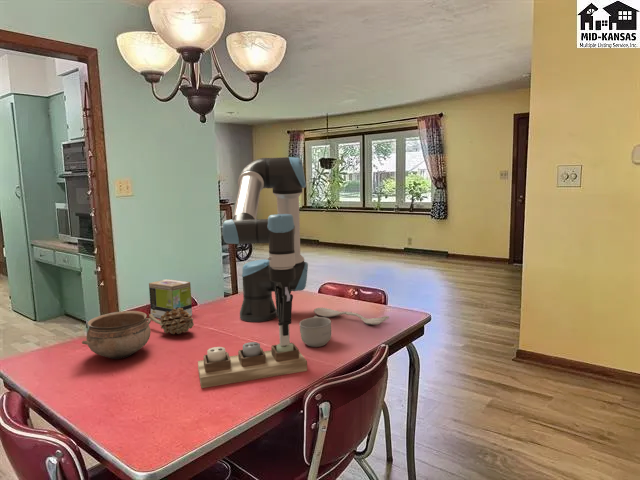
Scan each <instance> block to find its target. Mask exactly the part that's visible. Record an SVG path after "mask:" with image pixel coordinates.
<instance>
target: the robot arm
mask: <svg viewBox="0 0 640 480" xmlns="http://www.w3.org/2000/svg"><path fill="white" fill-rule="evenodd" d="M304 169H305V168H304V164H303V159H301V158H300V157H295V156H294V157H293V156H292V157H291V156H287V157H286V156H285V157H283V156H282V157H262V158H261V157H260V158H257V159H255V160H253V161H251V162H249V163H248V164H247V165H246V166H245V167H244V168H243V169H242V170H241V171H240V173H239V175H238V178H237V179H238V180H237V185H238V192H237V196H236V201H235V205H234V210H233V214H232V219H226V220H225V221H223V222H222V223H223V224H222V239H223V241H224V243H226V244H228V245H230V244H231V245H233V244H234V245H243V244H244V245H245V244H250V245H251V244H268V255H269V256H267V258H266V259H265V258H264V259H263V258H262V259H256V260H251V261H248V262H246V263H245V264H243V266H242V274H241V277H242V295H243V296H242V297H243V300H242V303H241V307H240V310H239V319H240V320H241V321H244V322H250V323H254V322H255V323H259V322H266V321H270V320H273V319H275V318H276V319H278V326H279V327H278V328H279V329H278V332H279V333H278V335H279V336H278V337H279V344H280V346H286V345H290V343H291V341H290V325H291V324H292V315H293V314H292V313H293V310H292V309H293V298H294V294H292V292H300V291H301V292H302V291H303V290H305V289H306V287H307V280H308V269H309V263H308V262H307V261H305V257H304V256H303V255H302V254H301V231H300V230H301V228H300V226H301V225H300V196H301V195H302V194H303V189H306V187H307V183H306V177H305V170H304ZM263 189H271V190H272V194H273V195H274V196H275V197H276V206H277V207H276V209H277V211H276V212H277V214H276V213H275V214H270V215H269V216H268V217H267V218H261V219H260V218H259V219H258V218H257V217H258V209H259V203H260V195H261V192H262V190H263ZM272 292H274V295H275V296H274V297H275V301H274V299H273V293H272Z"/></svg>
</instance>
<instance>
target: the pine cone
mask: <svg viewBox="0 0 640 480" xmlns="http://www.w3.org/2000/svg"><path fill="white" fill-rule="evenodd" d="M148 318H150V319H151V322H154V323H156V324H158V325H159V326H160V329H163V333H165V334H171V335H175V334H178V335H180V334H182V333H187V332H189V330H190V329H192V328H193V327H194V326H195V323H194V318H193V317H192V316H191V314H189V313H187V310H186V311H184V310H183V308H178V309H177V310H176V309H172V311H170V312H168V311H167V312H166V313H165V314H164V315H162V316H161V318H159V319H158V318H157V317H153V315H151V313H149V314H148Z"/></svg>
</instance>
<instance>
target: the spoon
mask: <svg viewBox="0 0 640 480" xmlns="http://www.w3.org/2000/svg"><path fill="white" fill-rule="evenodd" d="M313 313H315V314H316V316H317V315H318V317H325V318H334V317H336V316H341V315H346V316H353V317H358V318H359V319H360V320H362V322H363V323H365V324H366V325H372V326H373V325H379V324H382V323H383V322H385V321H387V320H388V319H390V316H388V315H386V316H385V315H384V316H382V317H374V318H373V317H372V318H366V317H364V316H363V315H361V314H359V313H356V312H352V311H338V310H334V309H331V308H327V307H316V308H314V309H313Z"/></svg>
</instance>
